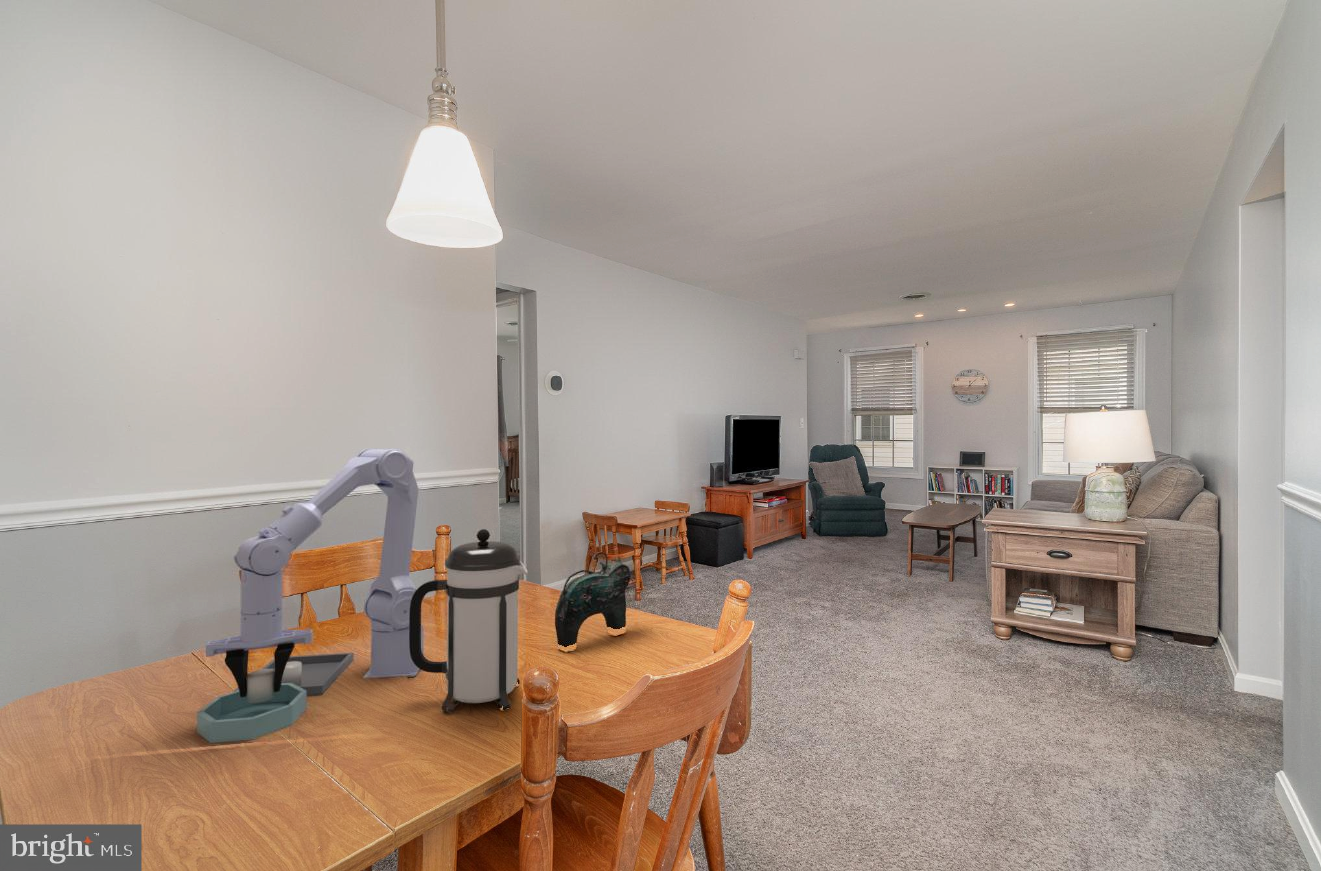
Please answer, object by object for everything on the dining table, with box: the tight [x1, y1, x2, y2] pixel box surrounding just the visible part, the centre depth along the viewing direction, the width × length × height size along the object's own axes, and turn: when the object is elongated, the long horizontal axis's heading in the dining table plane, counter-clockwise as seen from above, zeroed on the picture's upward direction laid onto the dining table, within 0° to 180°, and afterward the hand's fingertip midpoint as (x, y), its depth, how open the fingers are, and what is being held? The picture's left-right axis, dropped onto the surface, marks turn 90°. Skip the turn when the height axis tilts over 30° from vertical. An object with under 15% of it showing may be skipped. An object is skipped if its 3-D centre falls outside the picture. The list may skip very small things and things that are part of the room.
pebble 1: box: [246, 668, 276, 703], centre depth 97 cm, size 4×4×4 cm
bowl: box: [196, 683, 308, 747], centre depth 94 cm, size 13×13×4 cm
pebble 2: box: [281, 661, 302, 686], centre depth 107 cm, size 4×4×4 cm
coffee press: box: [409, 528, 529, 714], centre depth 103 cm, size 17×16×30 cm
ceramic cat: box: [554, 551, 631, 647], centre depth 133 cm, size 20×6×20 cm, turn 136°
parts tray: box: [232, 652, 355, 696], centre depth 110 cm, size 14×16×2 cm
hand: (261, 692), depth 97 cm, fingers closed on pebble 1, 4 cm apart
